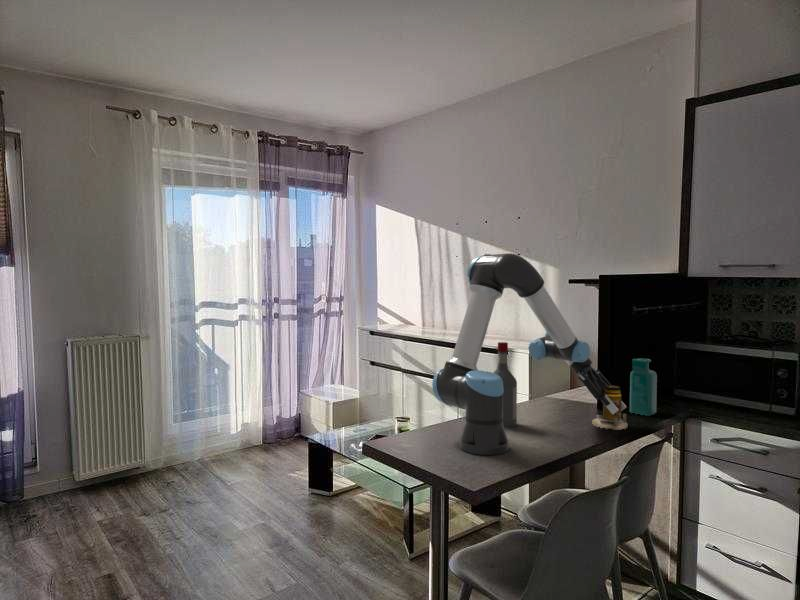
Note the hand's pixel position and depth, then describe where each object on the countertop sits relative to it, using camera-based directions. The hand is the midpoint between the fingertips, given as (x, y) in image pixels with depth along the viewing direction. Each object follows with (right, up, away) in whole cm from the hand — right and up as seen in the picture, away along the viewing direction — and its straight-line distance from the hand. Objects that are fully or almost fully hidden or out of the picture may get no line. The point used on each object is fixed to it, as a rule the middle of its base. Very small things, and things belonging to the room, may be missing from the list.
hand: (619, 410), depth 189 cm
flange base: (-3, -6, +3) cm, 7 cm away
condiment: (-3, -4, +2) cm, 5 cm away
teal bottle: (+18, -6, +21) cm, 28 cm away
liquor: (-42, -6, +4) cm, 42 cm away
